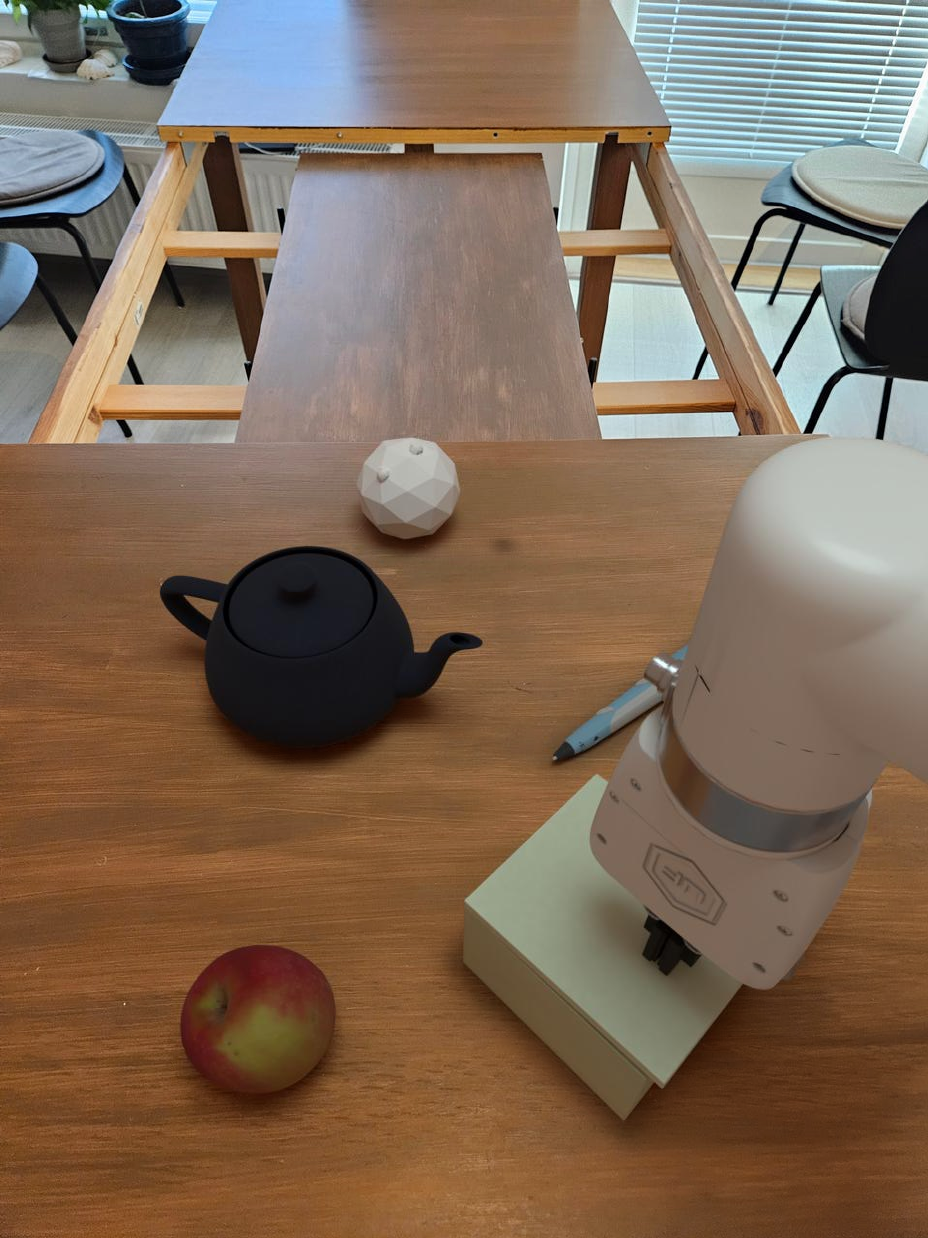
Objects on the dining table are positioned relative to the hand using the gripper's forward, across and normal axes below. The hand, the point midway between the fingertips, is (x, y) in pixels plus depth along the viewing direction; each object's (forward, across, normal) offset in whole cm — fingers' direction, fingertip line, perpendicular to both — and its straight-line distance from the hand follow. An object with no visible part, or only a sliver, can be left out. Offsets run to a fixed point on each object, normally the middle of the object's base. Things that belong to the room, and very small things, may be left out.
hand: (671, 945), depth 47 cm
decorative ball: (+10, -40, +20) cm, 46 cm away
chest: (+9, -3, 0) cm, 10 cm away
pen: (+9, -13, +19) cm, 25 cm away
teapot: (+10, -32, +2) cm, 34 cm away
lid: (+1, -3, 0) cm, 3 cm away
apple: (+10, -14, -17) cm, 24 cm away
